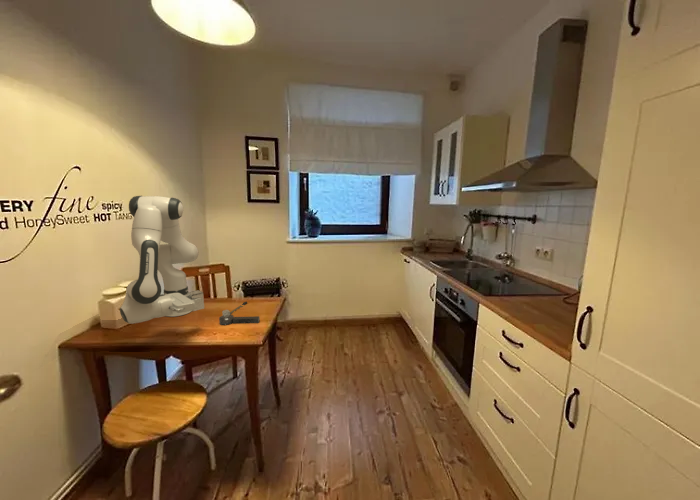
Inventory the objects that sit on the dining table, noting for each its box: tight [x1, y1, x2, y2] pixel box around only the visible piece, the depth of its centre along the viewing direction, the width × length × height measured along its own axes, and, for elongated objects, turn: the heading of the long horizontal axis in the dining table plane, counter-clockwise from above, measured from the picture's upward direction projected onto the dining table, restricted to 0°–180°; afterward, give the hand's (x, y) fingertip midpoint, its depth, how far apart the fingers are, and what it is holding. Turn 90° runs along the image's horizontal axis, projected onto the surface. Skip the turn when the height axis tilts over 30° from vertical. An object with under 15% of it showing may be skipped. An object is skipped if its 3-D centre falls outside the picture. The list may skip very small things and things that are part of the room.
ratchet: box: [218, 309, 260, 326], centre depth 160 cm, size 20×7×6 cm, turn 93°
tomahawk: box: [230, 301, 248, 315], centre depth 178 cm, size 21×7×1 cm, turn 166°
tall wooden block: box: [187, 289, 205, 312], centre depth 147 cm, size 5×5×8 cm
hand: (197, 298), depth 148 cm, fingers closed on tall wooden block, 5 cm apart
